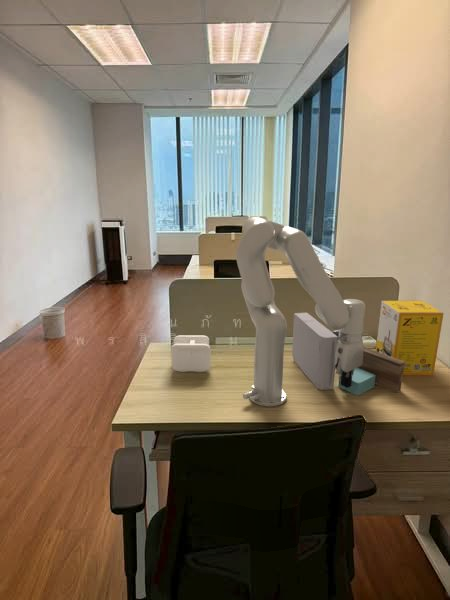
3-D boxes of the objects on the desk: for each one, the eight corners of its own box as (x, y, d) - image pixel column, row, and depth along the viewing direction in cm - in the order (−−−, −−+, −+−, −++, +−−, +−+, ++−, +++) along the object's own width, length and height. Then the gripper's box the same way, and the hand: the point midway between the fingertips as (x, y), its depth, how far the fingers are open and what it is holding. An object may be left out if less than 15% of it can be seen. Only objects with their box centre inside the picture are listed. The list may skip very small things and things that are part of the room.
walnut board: (396, 393, 135) (400, 364, 132) (343, 370, 151) (345, 344, 148) (401, 390, 137) (405, 361, 133) (348, 368, 153) (350, 342, 150)
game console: (318, 390, 136) (322, 338, 131) (291, 358, 162) (293, 313, 156) (333, 389, 137) (338, 336, 132) (304, 357, 163) (307, 312, 157)
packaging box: (374, 357, 163) (381, 300, 156) (413, 357, 163) (422, 300, 156) (390, 375, 148) (398, 312, 141) (433, 375, 148) (443, 313, 141)
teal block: (357, 396, 133) (358, 383, 132) (338, 387, 139) (339, 374, 138) (374, 387, 139) (375, 375, 138) (354, 379, 145) (356, 367, 144)
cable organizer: (211, 361, 159) (211, 335, 156) (210, 373, 149) (210, 345, 146) (175, 361, 159) (174, 335, 156) (171, 373, 149) (170, 345, 146)
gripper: (345, 345, 122) (341, 397, 127) (373, 334, 130) (368, 383, 136) (326, 338, 128) (323, 387, 133) (354, 328, 136) (349, 375, 141)
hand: (345, 385), depth 134 cm, fingers closed
